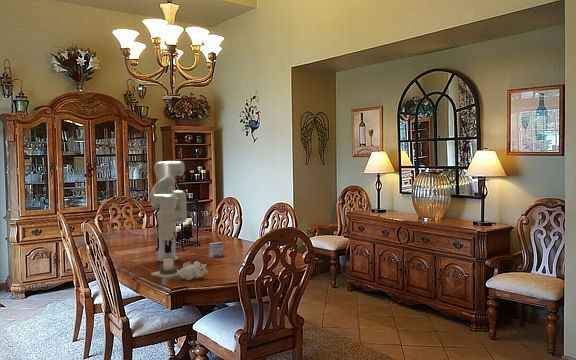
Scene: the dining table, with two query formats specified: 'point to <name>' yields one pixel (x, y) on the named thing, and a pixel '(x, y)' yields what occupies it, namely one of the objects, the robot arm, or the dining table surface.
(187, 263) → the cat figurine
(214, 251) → the medicine box
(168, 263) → the cream cap
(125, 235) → the dining table surface
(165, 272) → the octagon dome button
